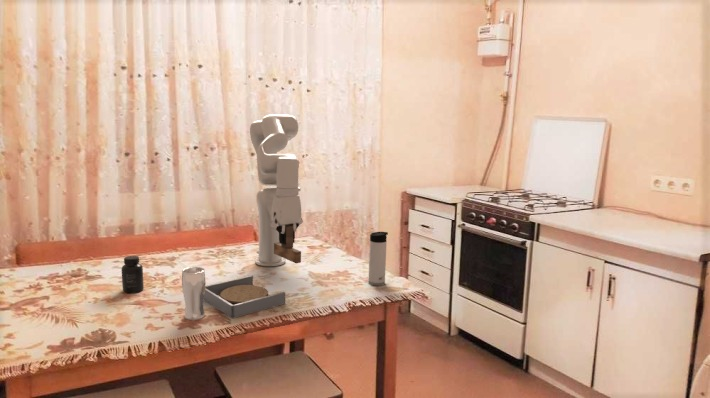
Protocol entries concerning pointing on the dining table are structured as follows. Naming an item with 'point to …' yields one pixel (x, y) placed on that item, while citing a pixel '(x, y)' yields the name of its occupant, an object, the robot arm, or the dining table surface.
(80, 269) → the dining table surface
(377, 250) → the travel mug
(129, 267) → the supplement bottle
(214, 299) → the box
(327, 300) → the dining table surface
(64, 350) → the dining table surface
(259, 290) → the wood log slice
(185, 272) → the beer glass
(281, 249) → the wooden t-shaped block
